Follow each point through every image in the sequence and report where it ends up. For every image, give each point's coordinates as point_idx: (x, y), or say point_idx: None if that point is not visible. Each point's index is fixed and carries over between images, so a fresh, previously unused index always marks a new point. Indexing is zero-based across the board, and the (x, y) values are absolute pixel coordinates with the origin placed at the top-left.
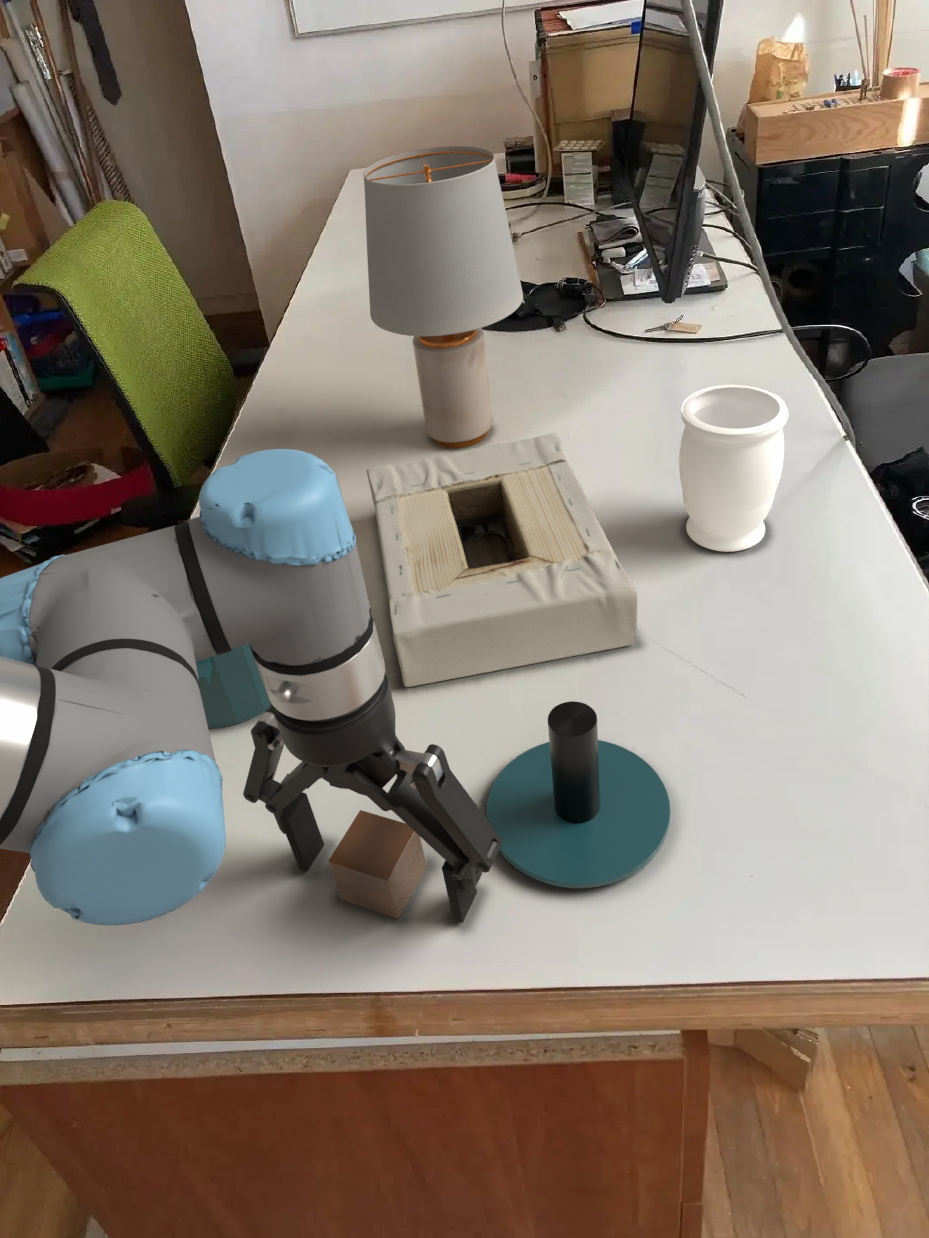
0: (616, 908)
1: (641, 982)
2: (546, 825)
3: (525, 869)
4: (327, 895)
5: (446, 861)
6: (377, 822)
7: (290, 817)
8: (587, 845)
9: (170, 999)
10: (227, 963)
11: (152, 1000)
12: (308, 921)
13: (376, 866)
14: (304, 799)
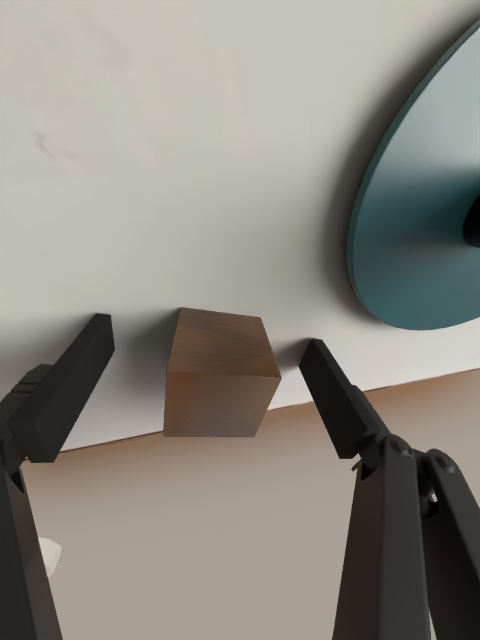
0: (453, 326)
1: (440, 374)
2: (437, 257)
3: (387, 323)
4: (157, 364)
5: (346, 452)
6: (210, 383)
7: (52, 454)
8: (475, 280)
9: (80, 448)
10: (104, 424)
11: (66, 451)
12: (153, 387)
13: (234, 429)
14: (42, 422)
